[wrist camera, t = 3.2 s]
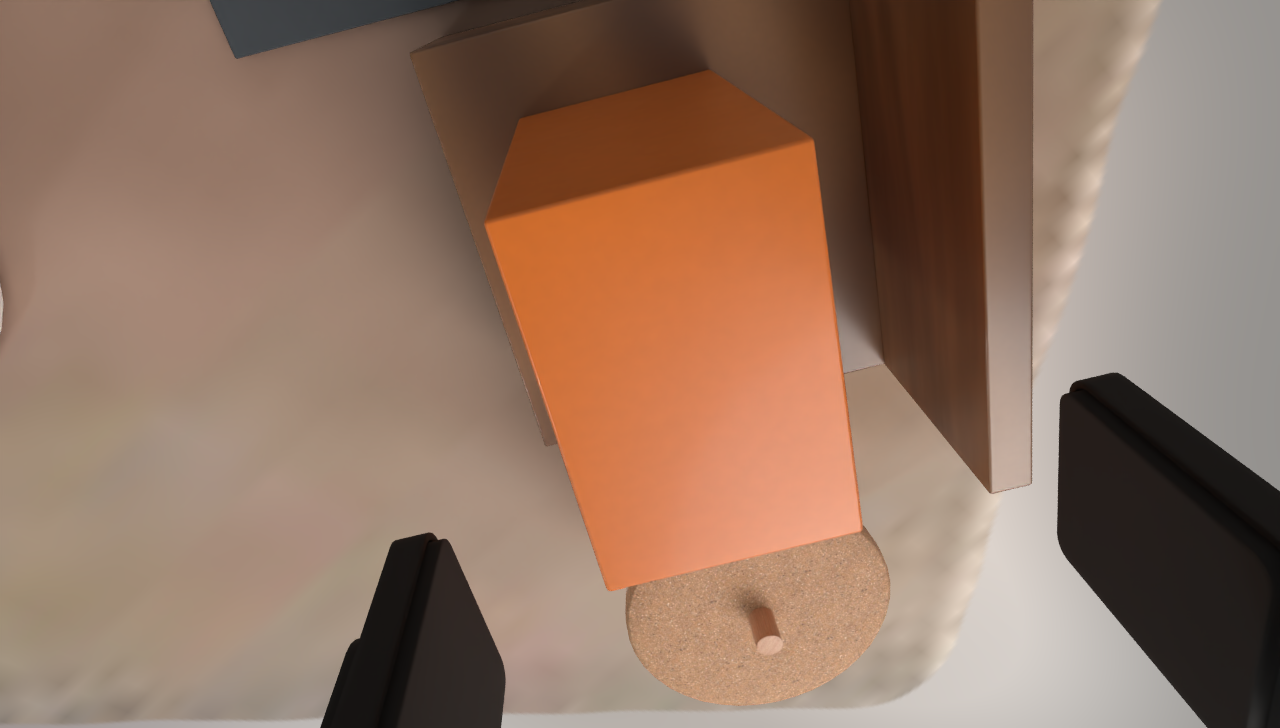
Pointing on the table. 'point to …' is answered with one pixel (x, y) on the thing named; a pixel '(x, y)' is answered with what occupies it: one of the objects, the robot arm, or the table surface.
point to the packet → (680, 324)
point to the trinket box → (762, 621)
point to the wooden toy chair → (820, 168)
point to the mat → (301, 19)
